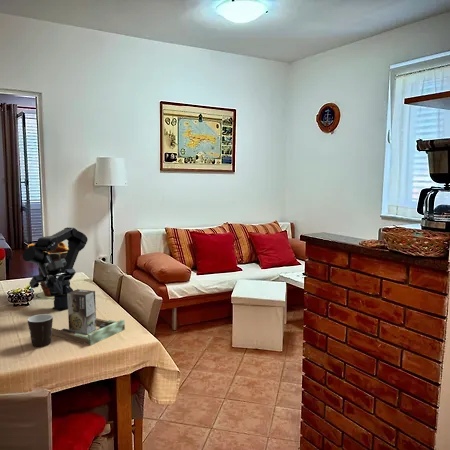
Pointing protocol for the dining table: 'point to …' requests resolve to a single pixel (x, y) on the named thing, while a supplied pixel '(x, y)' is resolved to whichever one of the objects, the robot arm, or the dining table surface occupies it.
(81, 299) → the coffee box
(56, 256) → the decorative vase
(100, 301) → the dining table surface
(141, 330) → the dining table surface
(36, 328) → the coffee mug
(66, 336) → the rectangular frame
